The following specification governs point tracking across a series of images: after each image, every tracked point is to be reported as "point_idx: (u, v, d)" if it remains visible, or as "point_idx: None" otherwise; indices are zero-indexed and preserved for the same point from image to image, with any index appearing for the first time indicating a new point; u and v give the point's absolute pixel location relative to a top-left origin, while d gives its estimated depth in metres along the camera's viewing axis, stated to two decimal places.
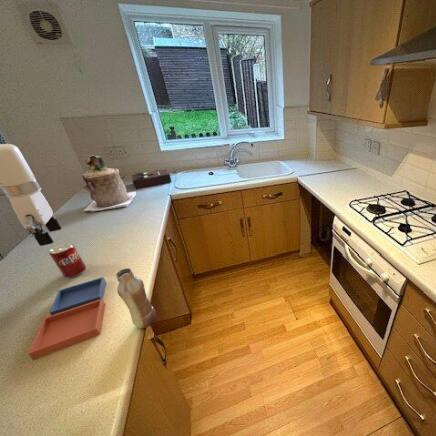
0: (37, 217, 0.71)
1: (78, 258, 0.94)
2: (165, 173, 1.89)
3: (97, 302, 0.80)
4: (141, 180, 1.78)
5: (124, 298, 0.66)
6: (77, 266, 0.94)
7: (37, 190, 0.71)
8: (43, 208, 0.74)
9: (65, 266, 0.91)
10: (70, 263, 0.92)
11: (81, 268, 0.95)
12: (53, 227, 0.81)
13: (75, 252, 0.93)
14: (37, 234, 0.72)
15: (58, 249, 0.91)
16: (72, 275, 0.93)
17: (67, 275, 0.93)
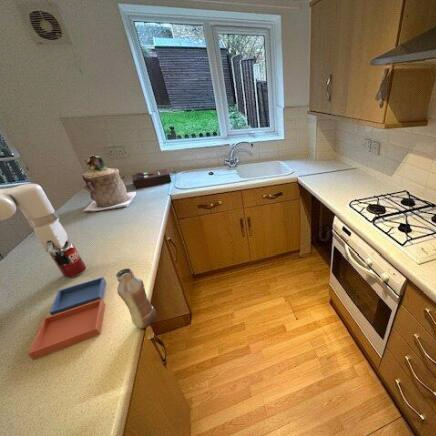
0: (56, 242, 0.85)
1: (78, 258, 0.94)
2: (165, 173, 1.89)
3: (97, 302, 0.80)
4: (141, 180, 1.78)
5: (124, 298, 0.66)
6: (77, 266, 0.94)
7: (56, 220, 0.86)
8: (60, 234, 0.88)
9: (65, 266, 0.91)
10: (70, 263, 0.92)
11: (81, 268, 0.95)
12: None
13: (75, 252, 0.93)
14: (57, 256, 0.87)
15: None
16: (72, 275, 0.93)
17: (67, 275, 0.93)
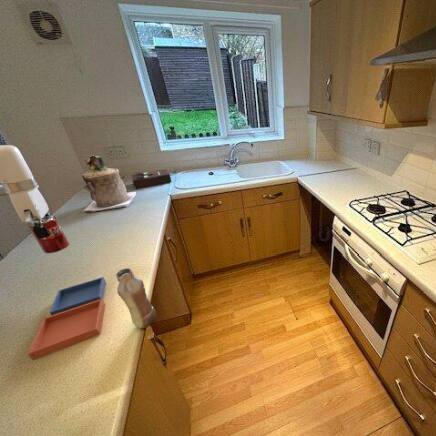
0: (34, 212, 0.78)
1: (60, 232, 0.86)
2: (165, 173, 1.89)
3: (97, 302, 0.80)
4: (141, 180, 1.78)
5: (124, 298, 0.66)
6: (59, 241, 0.86)
7: (35, 187, 0.78)
8: (40, 204, 0.80)
9: (45, 240, 0.83)
10: (51, 237, 0.84)
11: (63, 244, 0.87)
12: None
13: (57, 225, 0.85)
14: (36, 228, 0.79)
15: None
16: (53, 251, 0.85)
17: (47, 251, 0.85)
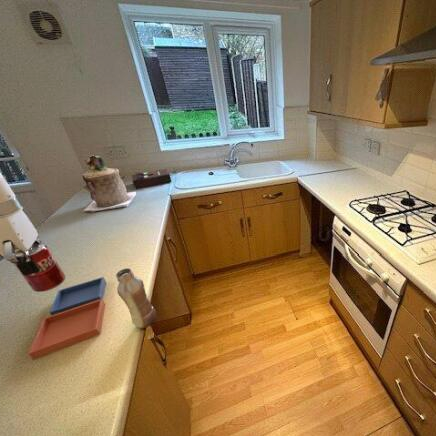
0: (17, 243, 0.59)
1: (54, 264, 0.68)
2: (165, 173, 1.89)
3: (97, 302, 0.80)
4: (141, 180, 1.78)
5: (124, 298, 0.66)
6: (52, 276, 0.67)
7: (17, 210, 0.59)
8: (25, 231, 0.62)
9: (34, 276, 0.64)
10: (42, 272, 0.65)
11: (58, 279, 0.69)
12: None
13: (49, 256, 0.67)
14: (20, 263, 0.60)
15: None
16: (45, 288, 0.67)
17: (37, 289, 0.66)
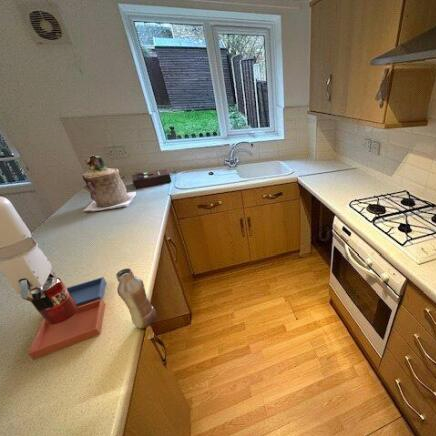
0: (32, 280, 0.59)
1: (67, 297, 0.68)
2: (165, 173, 1.89)
3: (97, 302, 0.80)
4: (141, 180, 1.78)
5: (124, 298, 0.66)
6: (65, 309, 0.68)
7: (32, 248, 0.59)
8: (40, 267, 0.62)
9: (48, 310, 0.65)
10: (56, 306, 0.65)
11: (71, 311, 0.69)
12: None
13: (63, 289, 0.67)
14: (35, 299, 0.61)
15: None
16: (58, 321, 0.67)
17: (51, 322, 0.67)
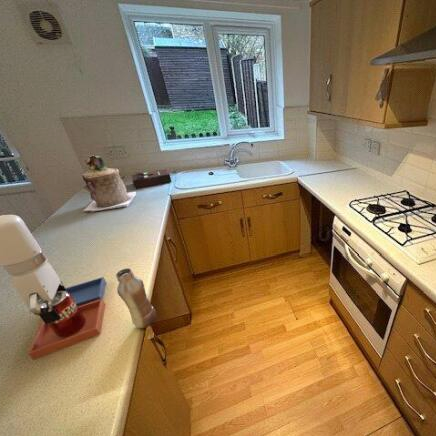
0: (43, 294, 0.61)
1: (76, 310, 0.71)
2: (165, 173, 1.89)
3: (97, 302, 0.80)
4: (141, 180, 1.78)
5: (124, 298, 0.66)
6: (74, 322, 0.70)
7: (43, 263, 0.62)
8: (49, 281, 0.64)
9: (58, 323, 0.67)
10: (65, 319, 0.68)
11: (80, 323, 0.72)
12: None
13: (71, 303, 0.69)
14: (43, 313, 0.62)
15: None
16: (67, 334, 0.70)
17: (61, 334, 0.69)
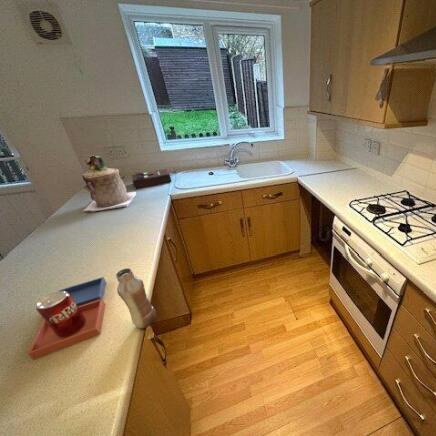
0: None
1: (76, 310, 0.71)
2: (165, 173, 1.89)
3: (97, 302, 0.80)
4: (141, 180, 1.78)
5: (124, 298, 0.66)
6: (74, 322, 0.70)
7: None
8: None
9: (58, 323, 0.67)
10: (65, 319, 0.68)
11: (79, 323, 0.72)
12: None
13: (71, 303, 0.69)
14: None
15: (49, 300, 0.67)
16: (67, 334, 0.70)
17: (61, 334, 0.69)
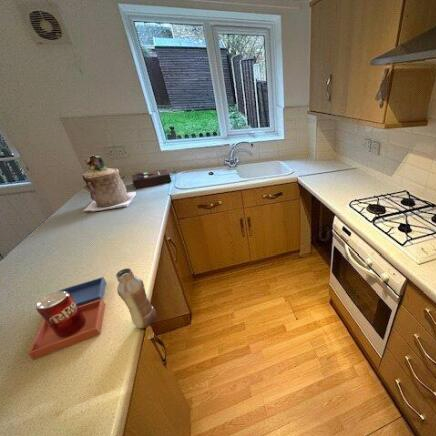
0: None
1: (76, 310, 0.71)
2: (165, 173, 1.89)
3: (97, 302, 0.80)
4: (141, 180, 1.78)
5: (124, 298, 0.66)
6: (74, 322, 0.70)
7: None
8: None
9: (58, 323, 0.67)
10: (65, 319, 0.68)
11: (79, 323, 0.72)
12: None
13: (71, 303, 0.69)
14: None
15: (49, 300, 0.67)
16: (67, 334, 0.70)
17: (61, 334, 0.69)
